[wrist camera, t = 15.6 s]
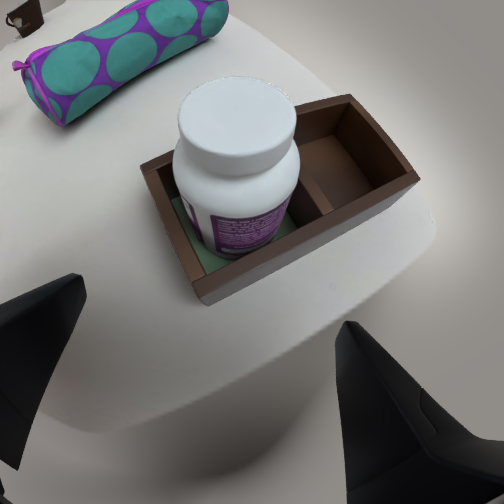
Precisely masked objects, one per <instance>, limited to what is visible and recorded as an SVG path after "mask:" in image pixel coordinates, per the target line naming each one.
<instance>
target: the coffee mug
mask: <svg viewBox="0 0 504 504" xmlns="http://www.w3.org/2000/svg"><path fill="white" fill-rule="evenodd" d="M8 17H9V19H10V20H11V22H12V23H13V25H12V24H10V23H9V22H8ZM6 23H7V25H9V26H11V27H16V29H17V30H18V32H19V33H20V35H21V36H22V38H24V37H26V36H28V35H30V34H31V33H33V32H34V31H36V30H37V29H38V28H40V27H41V26H42V25H43V24H44V20H43V16H42V12H41V7H40V2H39V0H24V1H23V2H21V3H20V4H18V5H17V6H16V7H14V8H13V9H12V10H10V11H9V12H8V13H7V18H6Z"/></svg>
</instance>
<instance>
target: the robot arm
mask: <svg viewBox="0 0 504 504" xmlns="http://www.w3.org/2000/svg"><path fill="white" fill-rule="evenodd" d="M86 298H87V293H86V289H85V284H84V279H83V277H82V276H81V275H79V274H75V273H71V274H68V275H66V276H64V277H61V278H59V279H56V280H54V281H52V282H49V283H47V284H45V285H43V286H40V287H38V288H36V289H33V290H31V291H29V292H27V293H24V294H22V295H20V296H18V297H16V298H14V299H11V300H9V301H7V302H5V303H3V304H1V305H0V460H2V461H3V462H5V463H6V464H8V465H9V466H11V467H12V468H14V469H15V470H17V471H18V469H19V466H20V462H21V458H22V455H23V451H24V448H25V445H26V441H27V438H28V435H29V432H30V429H31V425H32V423H33V420H34V417H35V415H36V412H37V410H38V407H39V404H40V402H41V399H42V397H43V394H44V392H45V390H46V387H47V385H48V383H49V380H50V378H51V376H52V374H53V371H54V369H55V367H56V365H57V363H58V361H59V359H60V357H61V354H62V352H63V350H64V348H65V346H66V344H67V342H68V340H69V338H70V336H71V334H72V332H73V330H74V327H75V325H76V323H77V320H78V318H79V315H80V313H81V311H82V308H83V306H84V304H85V302H86ZM335 354H336V385H337V393H338V401H339V409H340V417H341V427H342V437H343V448H344V459H345V472H346V488H347V489H346V490H347V504H504V441H496V440H486V439H481V438H479V437H477V436H475V435H473V434H472V433H471V432H469V431H468V430H467V429H466V428H465V427H464V426H463V425H461V424H460V423H459V422H458V421H457V420H455V418H453V417H452V416H451V415H450V414H449V413H447V411H446V410H445V409H443V408H442V407H441V406H440V405H439V404H438V403H437V402H436V401H435V400H434V399H433V398H432V397H431V396H430V395H429V394H428V393H427V392H426V391H425V390H424V389H423V388H421V386H420V385H419V384H418V383H417V382H416V381H415V380H414V378H413V377H412V376H411V375H409V373H408V372H407V371H406V370H405V369H404V368H403V367H402V366H401V365H400V364H399V363H398V362H397V361H396V360H395V359H394V358H393V357H392V356H391V355H390V354H389V353H388V352H387V351H386V350H385V349H384V348H383V347H382V346H381V345H380V344H379V343H378V342H377V341H376V340H375V339H374V338H373V337H372V336H371V335H370V334H369V333H368V332H367V331H366V330H364V328H363V327H362V326H361V325H360V324H359V323H358V322H355V321H345V322H344V323H343V325H342V327H341V329H340V331H339V333H338V335H337V337H336V341H335ZM4 492H5V491H4V488H3V485H2V482H1V479H0V504H12V503H11V502H10V501H8V500H7V499H6V498H5V497H3V494H4Z"/></svg>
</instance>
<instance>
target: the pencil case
mask: <svg viewBox="0 0 504 504" xmlns="http://www.w3.org/2000/svg"><path fill="white" fill-rule="evenodd" d="M228 13H229V5H228V1H227V0H137V1H134V2H132V3H130V4H129V5H127V6H125V7H124V8H123V9H121V10H120V11H119V12H117V13H115V14H114V15H112V16H111V17H109V18H108V19H106V20H105V21H104V22H102V23H101V24H99V25H97V26H95V27H93V28H91V29H88V30H86V31H83V32H81V33H79V34H78V35H76V36H75V37H74V38H73V39H70V40H67V41H65V42H63V43H60V44H56V45H52V46H48V47H44V48H41V49H38V50H36V51H34V52H32V53H31V54H30V55H29V57H28V58H27V59H26V61H25V63H22V62H20V61H14V62H13V63H12V66H13V70H14V71H17V70H20V69H21V75H22V79H23V82H24V84H25V86H26V89H27V92H28V95H29V96H30V98H31V99H32V101H33V102H34V103H35V104H36V105H37V107H38V108H39V109H40V110H41V111H42V112H43V113H45V114H46V115H47V116H48V117H49V118H50V119H51V120H53V121H54V122H55V123H56V124H57V125H60V126H66V125H67V124H68V123H69V122H71V121H72V120H74V119H75V118H77V117H78V116H81V115H82V114H83V113H85V112H86V111H87V110H88V109H89V108H91V107H92V106H94V105H95V104H96V103H98V102H99V101H101V100H102V99H103V98H105V97H106V96H107V95H109V94H110V93H112V92H113V91H114V90H116V89H117V88H119V87H120V86H121V85H123V84H124V83H126V82H127V81H129V80H130V79H132V78H134V77H135V76H137V75H139V74H140V73H142V72H143V71H145V70H147V69H149V68H151V67H153V66H155V65H157V64H159V63H161V62H163V61H165V60H166V59H168V58H170V57H172V56H174V55H176V54H178V53H180V52H182V51H184V50H186V49H188V48H190V47H192V46H194V45H196V44H199V43H201V42H203V41H204V40H206V39H209V38H211V37H213V36H215V35H216V34H218V33H219V31H220V30H221V29H222V27H223V26H224V24H225V22H226V20H227V17H228Z"/></svg>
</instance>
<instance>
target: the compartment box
mask: <svg viewBox="0 0 504 504" xmlns="http://www.w3.org/2000/svg"><path fill="white" fill-rule="evenodd" d="M294 108H295V111H296V126H295V131H294V136H293V140H294V141H295V143H296V146H297V148H298V152H299V157H300V170H299V176H298V181H297V185H296V187H295V189H294V190H293V193H292V196H291V198H290V201H289V203H288V206H287V208H286V211H285V214H284V216H283V219H282V221H281V223H280V226H279V228H278V231H277V233H276V235H275V237H274V239H273V240H272V242H271V243H269V244H267V245H265V246H263V247H261V248H259V249H257V250H255V251H253V252H251V253H249V254H247V255H245V256H243V257H241V258H239V259H237V260H233V259H226V258H222V257H219V256H217V255H215V254H213V253H212V252H210V251H209V250H207V249H206V248H205V247H204V246H203V244H202V243H201V242H200V241H199V239H198V237H197V235H196V233H195V231H194V228H193V226H192V224H191V221H190V219H189V217H188V214H187V211H186V209H185V206H184V203H183V200H182V198H181V195H180V192H179V190H178V187H177V185H176V182H175V179H174V173H173V155H174V150H175V149H174V150H172V151H169V152H167V153H165V154H163V155H161V156H158V157H156V158H154V159H152V160H150V161H148V162H146V163H144V164H142V165H140V169H141V171H142V174H143V176H144V179H145V181H146V184H147V186H148V189H149V191H150V194H151V196H152V198H153V201H154V203H155V206H156V208H157V210H158V213H159V215H160V217H161V220H162V222H163V224H164V226H165V229H166V231H167V233H168V235H169V238H170V240H171V242H172V244H173V246H174V248H175V251H176V253H177V255H178V257H179V259H180V261H181V263H182V266H183V268H184V270H185V272H186V274H187V276H188V278H189V280H190V282H191V283H192V286H193V288H194V290H195V292H196V294H197V296H198V298H199V299H200V300H201V301H203V302H204V303H205V304H206V305H207V306H210V305H212V304H214V303H216V302H218V301H220V300H222V299H224V298H226V297H228V296H230V295H232V294H234V293H235V292H237V291H239V290H241V289H243V288H245V287H247V286H249V285H251V284H253V283H254V282H256V281H258V280H260V279H262V278H264V277H266V276H268V275H269V274H271V273H273V272H275V271H277V270H279V269H281V268H282V267H284V266H286V265H288V264H290V263H292V262H294V261H295V260H297V259H299V258H301V257H303V256H304V255H306V254H308V253H310V252H312V251H314V250H315V249H317V248H319V247H321V246H323V245H324V244H326V243H328V242H330V241H332V240H333V239H335V238H337V237H339V236H340V235H342V234H344V233H346V232H347V231H349V230H351V229H353V228H354V227H356V226H358V225H360V224H361V223H363V222H365V221H367V220H368V219H370V218H372V217H374V216H375V215H377V214H379V213H380V212H382V211H384V210H386V209H387V208H389V207H390V206H391V205H392V204H394V203H395V202H396V201H397V200H398V199H399V198H401V197H402V196H403V195H404V194H405V193H406V192H407V191H408V190H410V189H411V188H412V187H413V186H414V185H415V184H416V183H417V182H418V181H420V177H419V176H418V174H417V173H416V171H415V170H414V169H413V167H412V166H411V164H410V163H409V162H408V160H407V159H406V158H405V156H404V155H403V154H402V152H401V151H400V150H399V149H398V147H397V146H396V145H395V143H393V141H392V140H391V138H390V137H389V136H388V135H387V134H386V132H385V131H384V130H383V129H382V128H381V127H380V125H379V124H378V123H377V122H376V121H375V120H374V118H373V117H372V116H371V115H370V114H369V113H368V112H367V111H366V110H365V109H364V108H363V106H362V105H361V104H360V103H359V102H358V101H356V99H355V98H354V97H353V96H352V95H351V94H346V95H340V96H336V97H331V98H327V99H322V100H318V101H314V102H310V103H306V104H302V105H298V106H294Z"/></svg>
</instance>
